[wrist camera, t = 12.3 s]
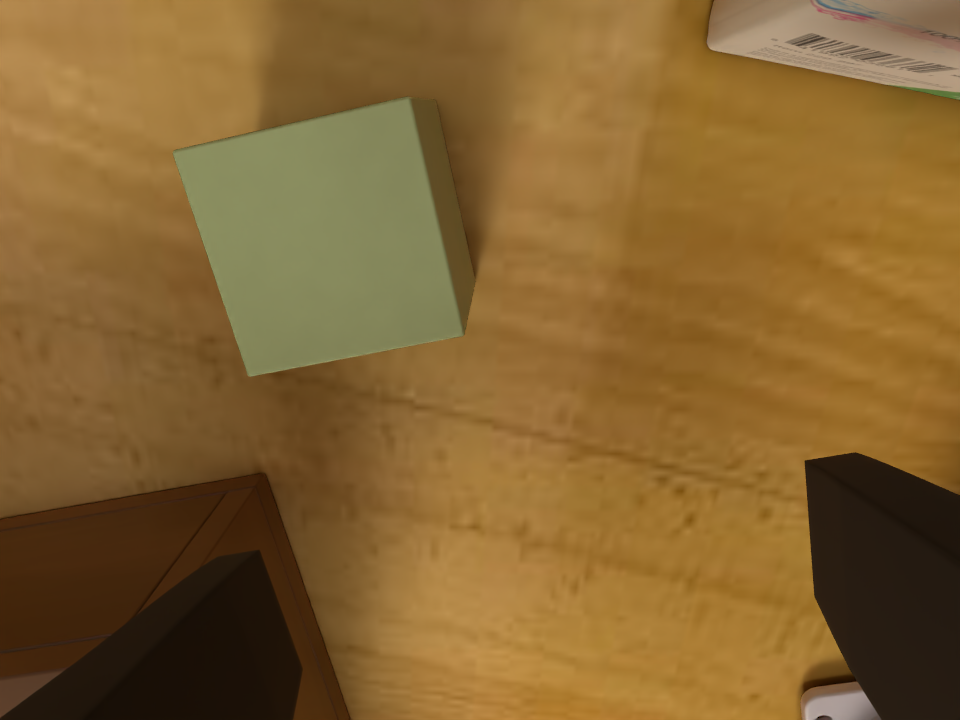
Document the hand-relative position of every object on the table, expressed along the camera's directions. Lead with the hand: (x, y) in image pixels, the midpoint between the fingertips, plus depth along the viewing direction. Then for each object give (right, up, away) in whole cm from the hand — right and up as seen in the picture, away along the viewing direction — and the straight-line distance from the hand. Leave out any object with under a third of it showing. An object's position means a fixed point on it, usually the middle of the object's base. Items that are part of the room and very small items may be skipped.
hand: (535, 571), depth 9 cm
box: (-3, +6, +8) cm, 11 cm away
